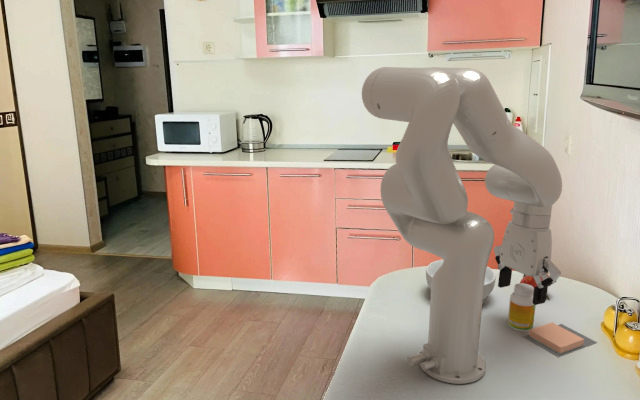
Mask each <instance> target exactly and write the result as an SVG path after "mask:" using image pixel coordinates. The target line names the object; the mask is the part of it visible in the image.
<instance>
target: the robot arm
mask: <svg viewBox="0 0 640 400" xmlns="http://www.w3.org/2000/svg"><path fill="white" fill-rule="evenodd" d="M361 99H362V103H363V105H364V107H365V109H366V111H367V112H368V113H370V115H372V116H374V117H376V118H378V119H382V120H387V121H388V120H389V121H396V122H404V123H408V124H407V126H406V129H405V131H404V134H403V136H402V139H401V140H400V143H399V144H398V147H397V149H396V152H395V163H394V164H392V165H391V166H390V167H388V169H386V171H385V173H384V175H383V177H381V183H380V198H381V201H382V205H383V207H384V209H385V211H386V212H387V214H388V216H389V217H390V219H391V220H392V222H393V224H394V225H395V227H396V229H397V230H398V232H399V233H400V235H401V237H402V238H403V239H404V240H405V242H407V244H409V245H410V246H411V247H414V248H416V249H418V250H420V251H424V252H426V253H429V254H432V255H435V256H436V257H438V258H440V259H441V260H442V259H443V260H444V262H443V264H442V266H441V267H440V268H439V269H438V270H437V271H436V272H435V274H434V276H433V278H432V283H431V289H430V300H429V301H430V302H429V318H428V320H429V322H428V336H427V337H428V338H427V340H428V341H427V343H424V344H423V348H422V349H423V350H421V351H420V352H419V353H418V354H416V353H415V354H413V355H409V356H407V358H406V363H407V364H408V366H409V367H416V366H418V365H419V366H420V368H421V370H422V371H423V372H424V373H425V374H427V375H428V376H429V377H431V378H433V379H435V380H438V381H440V382H444V383H446V384H447V383H448V384H454V385H455V384H456V385H457V384H458V385H461V384H462V385H463V384H471V383H474V382H476V381H478V380H480V379H481V378H483V376H484V375H485V372H486V362H485V360H484V359H483V357H482V355H480V354H479V346H480V345H479V344H480V336H481V335H480V332H481V323H482V322H481V321H482V311H483V300H484V299H483V289H484V280H485V273H486V268H487V266H488V263H489V261H490V255H491V252H492V249H493V251H494V255H495V257H494V258H495V261H496V263H497V269H498V270H499V275H498V283H497V287H498V288H506V287H510V286H511V281H512V273H513V271H515V272H518V273H520V274H521V275H523V276H524V275H527V276H530V277H534V279H535V281H536V283H537V286H535V288H534V294H533V301H532V303H533V304H534V305H536V306H537V305H541V304H545V303H546V300H547V297H548V295H547V294H548V288H549V287H552V285H553V284H555V283H556V282H557V280H558V279H559V278H560V277H561V275H562V271H561V270H560V269H559V268H558V266H556V265H555V264H554V262H553V261H552V260H551V259H552V248H553V245H552V244H553V243H552V242H553V241H552V240H553V238H552V237H553V236H552V229H550V226H551V219H552V218H551V217H552V211H553V205H554V204H555V203H557V201H559V199H560V197H561V195H562V191H563V180H562V175H561V173H560V170H559V167H558V165H557V163H556V160H555V159H554V157H553V155H552V154H551V152H549V151H548V149H546V148H545V146H543V145H542V144H541V143H540V142H538V141H536V140H535V139H534V138H532V137H531V136H530V135H528V134H527V133H525V132H524V131H523V130H521V129H520V128H518V127H517V126H516V125H514V124H513V123H512V122H511V120H510V118H509V116H508V114H507V112H506V110H505V108H504V107H503V105H502V103H501V100H500V98H499V97H498V95H497V93H496V92H495V90H494V88H493V85H492V83H491V82H490V79H489V78H488V77H487V76H486V74H484V73H483V72H481V71H480V70H477V69H475V68H468V67H437V66H436V67H435V66H434V67H433V66H432V67H430V66H429V67H404V66H403V67H401V66H400V67H399V66H398V67H397V66H395V67H394V66H382V67H379V68H377V69H375V70H373V71H372V72H370V73H369V75H367V77H366V78H365V80H364V82H363V85H362V88H361ZM453 125H454V126H455V128H456V130H457V131H458V133H459V134H460V136H461V138H462V139H463V141H464V143H465V144H466V146H467V148H468V149H469V150H470V152H471V153H473V154H474V155H476V156H477V157H479V158H481V160H485V161H487V162H488V163H491V164H493V165H492V166H491V167H490V168H489V169H488V170H487V172H486V174H485V177H484V185H485V188H486V190H487V191H488V193H490V194H491V195H492V196H494V197H496V198H498V199H503V200H506V201H512V202H513V208H511V209H510V210H509V211H510V215H512V217H511V220H509V221H508V223H507V225H506V227H505V230H504V234H503V239H502V242H501V244H500V245H497V246H496V245H495V246H494V247H493V245H494V242H495V241H494V240H495V231H494V228H493V225H491V223H490V222H489V221H488V220H487V219H486V218H485V217H483V216H481V215H480V214H478V213H475V212H471V211H469V210H468V206H469V198H468V194H467V190H466V188H465V186H464V183H463V181H462V178H461V176H460V175H459V172H458V170H457V168H456V166H455V163H454V162H453V160H452V157H451V154H450V152H449V147H448V145H449V144H448V142H449V137H450V134H451V130H452V127H453ZM547 274H548V275H549V277H548V275H547ZM540 276H541V277H542V279H543V281H542V279H541V277H540ZM546 296H547V297H546Z"/></svg>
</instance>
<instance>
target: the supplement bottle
mask: <svg viewBox="0 0 640 400" xmlns="http://www.w3.org/2000/svg"><path fill="white" fill-rule="evenodd" d="M513 290H514V291H513V293H511V294H510V297H509V304H508V305H509V306H508V313H507V325H508V327H510V329H513V330H516V331H518V332H529V330H530V329H533V328H534V321H535V315H536V313H535V311H536V306H537V305H534V304H533V303H532V301H533V293H534V288H533V286H531V285H528V284H524V283H520V282H519V283H515V285H514V288H513Z"/></svg>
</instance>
